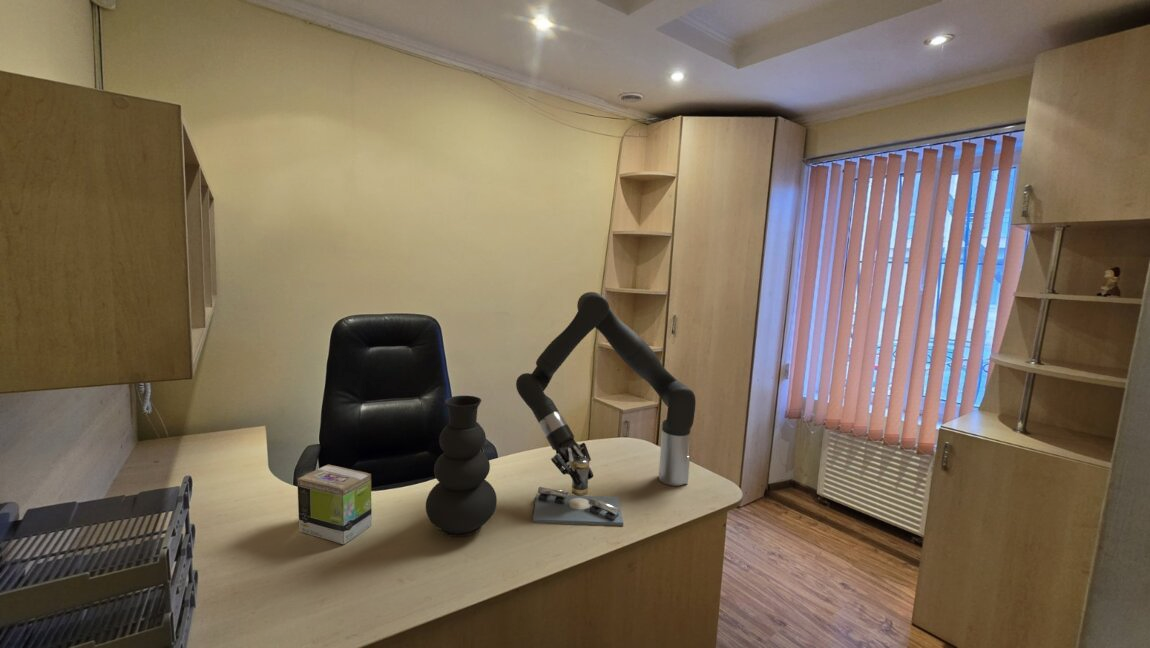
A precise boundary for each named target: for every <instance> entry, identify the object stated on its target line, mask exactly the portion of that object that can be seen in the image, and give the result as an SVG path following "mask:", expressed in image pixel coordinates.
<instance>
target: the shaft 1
mask: <svg viewBox="0 0 1150 648" xmlns="http://www.w3.org/2000/svg"><path fill="white" fill-rule="evenodd" d="M537 494H540V495H539V497H538V500H540V501H547V499H548V498H549V496H555V497H556V498H555V503H557V504H563V503H564V501H565V499H567V498H568V495H570V493H569V491H566V490H562V489H557V488H556V489H555V488H549V487H543V486H538V489H537Z"/></svg>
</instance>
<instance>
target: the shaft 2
mask: <svg viewBox="0 0 1150 648" xmlns="http://www.w3.org/2000/svg"><path fill="white" fill-rule="evenodd" d="M589 505H591V506H592V507H591V508H590V512H591V513H593V514H596V515H597V514H598V513H600V512H601V511H602V510H604V511H607V513H606V514H605V518H606V519H608V520H611V521H613V520H614V519H615V518H616V517H618V516H619V508H617V507H615V506H612V505H609V504H607V503H604V502H601V501H599V500H596V499H594V498H590V499H589Z"/></svg>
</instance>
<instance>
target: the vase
mask: <svg viewBox="0 0 1150 648" xmlns="http://www.w3.org/2000/svg"><path fill="white" fill-rule="evenodd" d="M481 403H482V398H480V397H478V396H474V395H454V396H451V397H448V398H446V399H445V400H444V404H445V406H446V407H447V409H448V423H447V424H446V425H445V426H444V428H443V429H442V430H441V432H440V434H439V437H438V438H439V439H438V440H439V446H440V448H441V450H442V451H443V453H442V454H441V455H439V457H438V458H437V459H436V461H435V463H434V466H433V467H434V468H433V473H434V476H435V479H436V480H437V481H438V483H436V484H435V485H434V486H433V487H432V489H431V490H430V491H429V493H428V495H427V498H426V500H425V512H426V515H427V517H428V520H429V521H430V522H431V524H433V526H434V527H436V528H437V529H439V530H440V531H441V532H442V534H445V535H447V536H449V537H465V536H469V535H473V534H475V533H476V532H478V531H479V530H481V529H482V527H483V526H484V525H486V523H487V522H488V521H489V520H490V519H491V518H492V516H493V515H494V514H495V511H496V508H497V502H498V501H497V500H498V499H497V493H496V491H495V488H494V487H493V485H492V484H491V483H490V482H488V481H487V480H486V478H487V477H488V476H489V474H490V470H491V463H490V461H489V458H488V456H487V455H486V454H485V453H484V452H483V451H482V449H483V448H484V446H485V444H486V441H487V440H486V438H487V437H486V432H485V430H484V428H483V427H482V426H481V425H480V423H479V422H477V420H478V418H477V417H478V408H479V406H480V405H481Z"/></svg>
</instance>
